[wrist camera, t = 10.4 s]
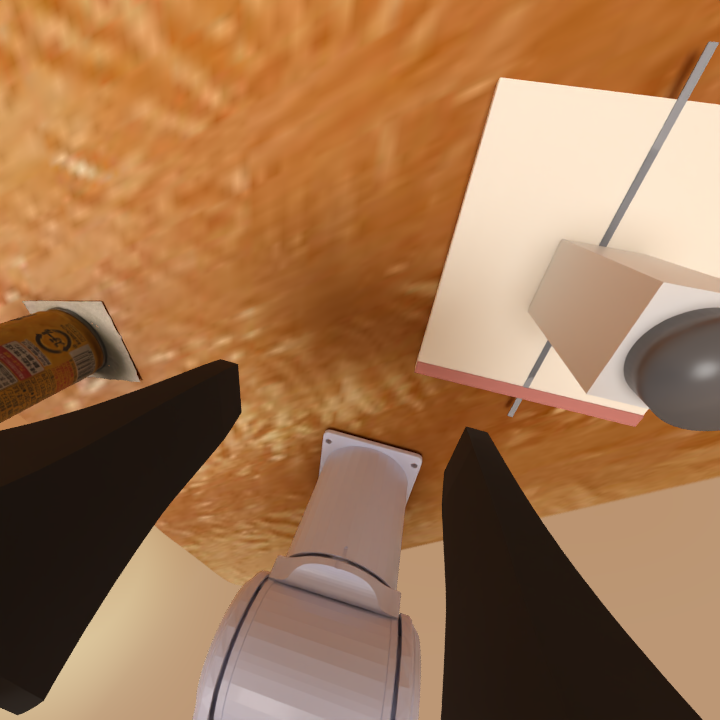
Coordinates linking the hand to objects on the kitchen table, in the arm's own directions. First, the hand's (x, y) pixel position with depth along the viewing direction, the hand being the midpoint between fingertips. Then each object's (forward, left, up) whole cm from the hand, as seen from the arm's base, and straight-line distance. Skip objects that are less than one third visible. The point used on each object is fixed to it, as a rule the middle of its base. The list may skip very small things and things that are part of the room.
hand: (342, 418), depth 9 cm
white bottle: (+3, -9, -10) cm, 13 cm away
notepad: (+3, -9, -10) cm, 14 cm away
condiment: (-9, +25, -11) cm, 29 cm away
